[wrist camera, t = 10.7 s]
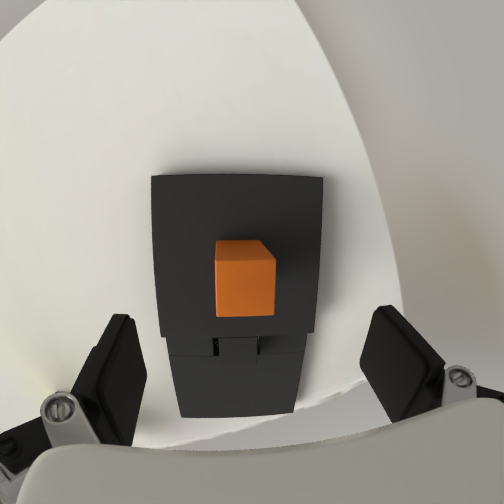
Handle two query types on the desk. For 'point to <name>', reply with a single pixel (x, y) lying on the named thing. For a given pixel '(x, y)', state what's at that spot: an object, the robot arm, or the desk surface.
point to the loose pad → (234, 218)
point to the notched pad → (236, 378)
